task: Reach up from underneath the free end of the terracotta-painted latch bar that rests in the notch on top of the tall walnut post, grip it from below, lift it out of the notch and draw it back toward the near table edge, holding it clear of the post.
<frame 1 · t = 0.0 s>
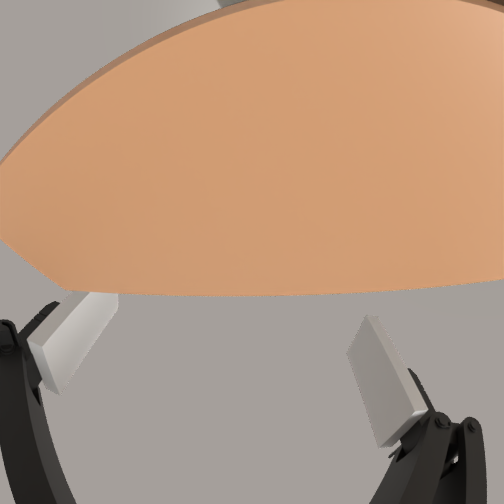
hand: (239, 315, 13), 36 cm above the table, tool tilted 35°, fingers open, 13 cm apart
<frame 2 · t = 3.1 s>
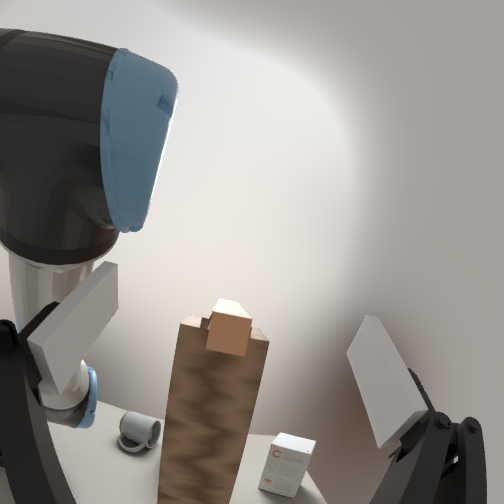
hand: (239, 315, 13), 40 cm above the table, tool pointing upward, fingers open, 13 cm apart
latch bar: (224, 329, 32), point 36 cm above the table, touching post
ceramic mug: (137, 443, 48), on the table
small box: (279, 487, 42), on the table
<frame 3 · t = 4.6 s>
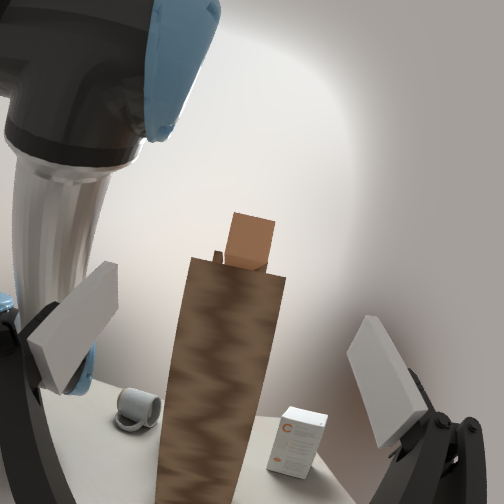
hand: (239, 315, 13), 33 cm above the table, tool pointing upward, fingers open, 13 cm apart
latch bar: (237, 269, 31), point 36 cm above the table, touching post
post: (192, 496, 28), on the table
ceramic mug: (135, 423, 47), on the table
small box: (288, 468, 42), on the table
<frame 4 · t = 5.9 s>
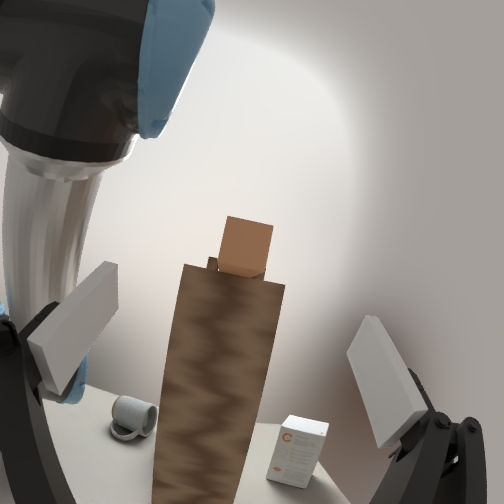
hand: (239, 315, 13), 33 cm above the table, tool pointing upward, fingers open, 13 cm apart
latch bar: (233, 275, 29), point 36 cm above the table, touching post
ceramic mug: (131, 431, 45), on the table
small box: (289, 477, 39), on the table
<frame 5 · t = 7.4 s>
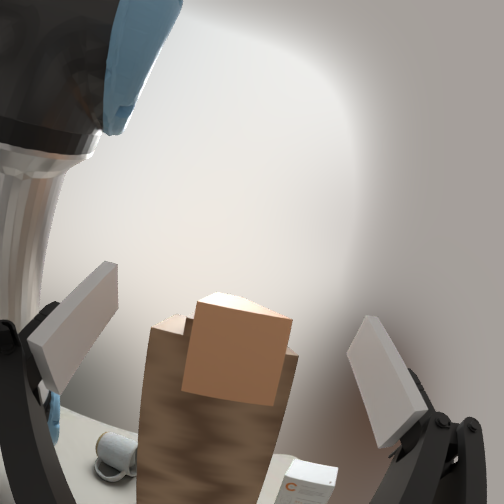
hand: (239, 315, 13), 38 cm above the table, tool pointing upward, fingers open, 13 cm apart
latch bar: (224, 337, 20), point 36 cm above the table, touching post
ceramic mug: (118, 470, 35), on the table
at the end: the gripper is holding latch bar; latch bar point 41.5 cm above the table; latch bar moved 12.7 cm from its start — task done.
